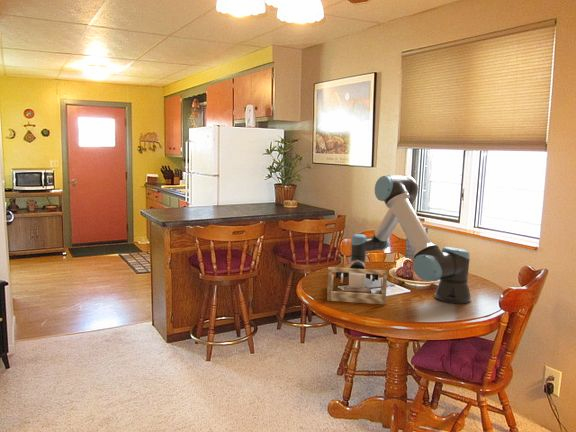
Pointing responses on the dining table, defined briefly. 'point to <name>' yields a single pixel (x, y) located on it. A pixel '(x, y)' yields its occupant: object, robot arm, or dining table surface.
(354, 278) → the white cup
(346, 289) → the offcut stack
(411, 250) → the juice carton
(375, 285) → the rubber mat
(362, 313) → the dining table surface
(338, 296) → the frame
